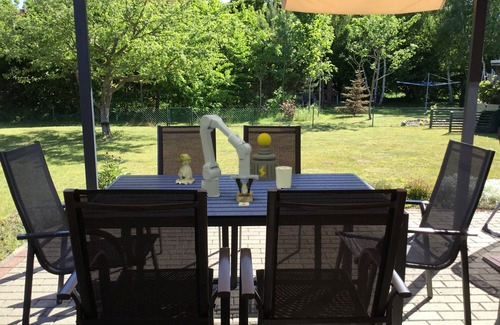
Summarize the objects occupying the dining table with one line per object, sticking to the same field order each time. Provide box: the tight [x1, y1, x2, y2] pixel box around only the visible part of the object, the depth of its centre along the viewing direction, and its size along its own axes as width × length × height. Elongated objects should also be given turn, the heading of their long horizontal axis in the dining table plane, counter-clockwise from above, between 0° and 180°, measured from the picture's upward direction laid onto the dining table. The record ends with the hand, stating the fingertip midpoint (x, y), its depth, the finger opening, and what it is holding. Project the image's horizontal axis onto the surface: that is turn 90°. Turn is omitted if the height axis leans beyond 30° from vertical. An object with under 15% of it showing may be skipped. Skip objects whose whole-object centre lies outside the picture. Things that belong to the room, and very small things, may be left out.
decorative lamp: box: [250, 132, 280, 182], centre depth 274 cm, size 19×19×30 cm
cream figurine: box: [175, 153, 195, 185], centre depth 263 cm, size 12×13×18 cm
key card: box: [238, 202, 250, 207], centre depth 208 cm, size 5×6×1 cm
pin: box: [241, 181, 249, 197], centre depth 216 cm, size 4×4×8 cm
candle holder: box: [275, 166, 293, 190], centre depth 245 cm, size 10×10×12 cm
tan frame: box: [236, 190, 254, 203], centre depth 220 cm, size 8×14×2 cm, turn 179°
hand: (244, 192), depth 216 cm, fingers closed on pin, 4 cm apart
